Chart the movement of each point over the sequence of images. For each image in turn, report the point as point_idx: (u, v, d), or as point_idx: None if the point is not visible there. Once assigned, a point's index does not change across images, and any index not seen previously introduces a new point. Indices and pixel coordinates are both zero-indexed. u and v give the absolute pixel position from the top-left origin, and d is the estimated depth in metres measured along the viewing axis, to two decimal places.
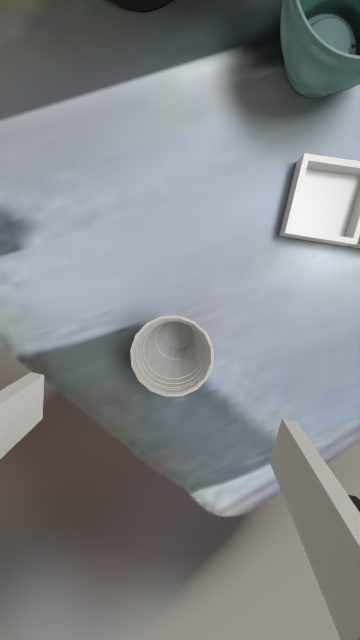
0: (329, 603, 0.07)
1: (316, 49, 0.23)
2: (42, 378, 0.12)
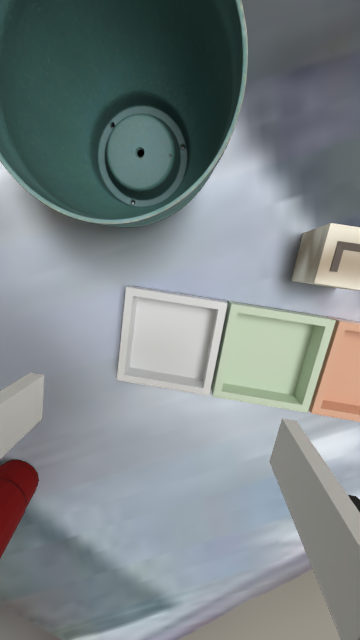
0: (329, 603, 0.07)
1: None
2: (42, 378, 0.12)
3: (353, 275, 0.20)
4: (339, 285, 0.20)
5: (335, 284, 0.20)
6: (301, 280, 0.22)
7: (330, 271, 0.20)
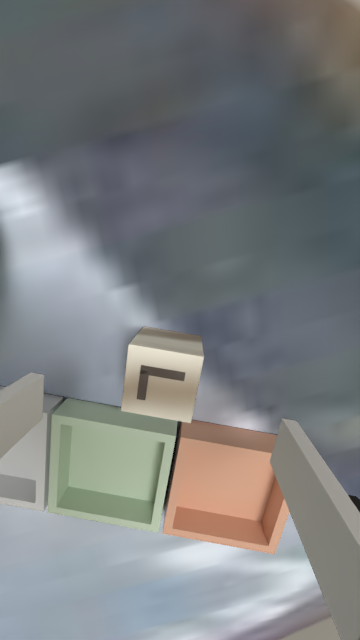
0: (329, 603, 0.07)
1: None
2: (42, 378, 0.12)
3: (166, 404, 0.16)
4: (151, 414, 0.16)
5: (146, 413, 0.16)
6: None
7: (138, 398, 0.16)
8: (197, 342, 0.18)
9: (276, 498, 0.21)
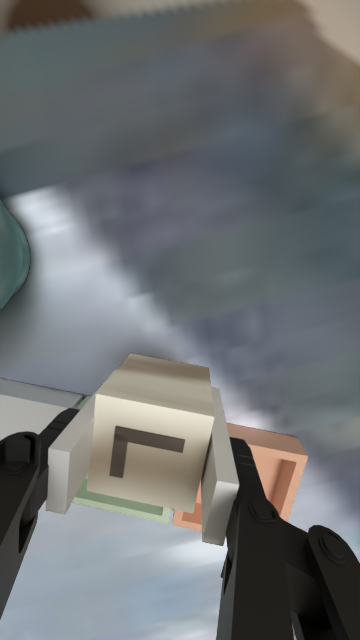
0: (204, 512, 0.09)
1: None
2: None
3: (155, 484, 0.10)
4: (132, 498, 0.10)
5: (125, 496, 0.10)
6: None
7: (112, 474, 0.10)
8: (204, 382, 0.12)
9: (280, 494, 0.22)
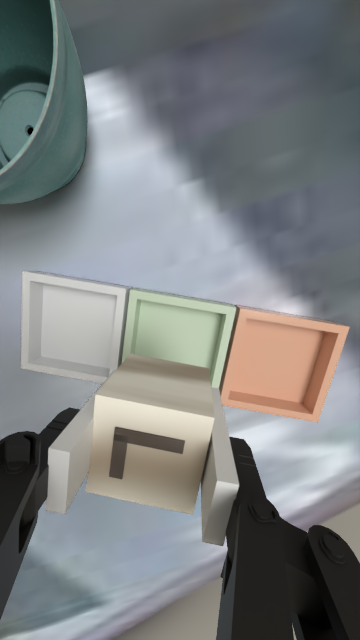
0: (204, 512, 0.09)
1: None
2: None
3: (155, 485, 0.10)
4: (132, 499, 0.10)
5: (124, 497, 0.10)
6: None
7: (112, 475, 0.10)
8: (204, 382, 0.12)
9: (319, 372, 0.24)
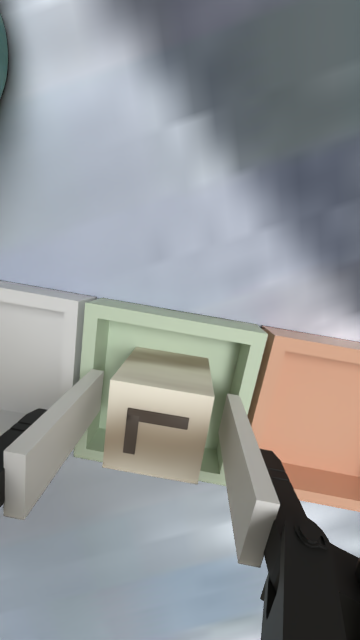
0: (236, 529, 0.09)
1: None
2: (102, 374, 0.14)
3: (164, 459, 0.11)
4: (143, 472, 0.12)
5: (136, 471, 0.12)
6: None
7: (125, 451, 0.12)
8: (204, 369, 0.13)
9: None
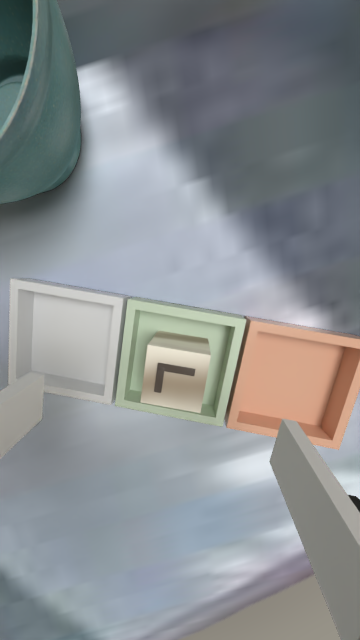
0: (329, 603, 0.07)
1: None
2: (42, 378, 0.12)
3: (179, 396, 0.18)
4: (166, 405, 0.19)
5: (162, 404, 0.19)
6: None
7: (155, 391, 0.18)
8: (205, 343, 0.20)
9: (339, 393, 0.21)
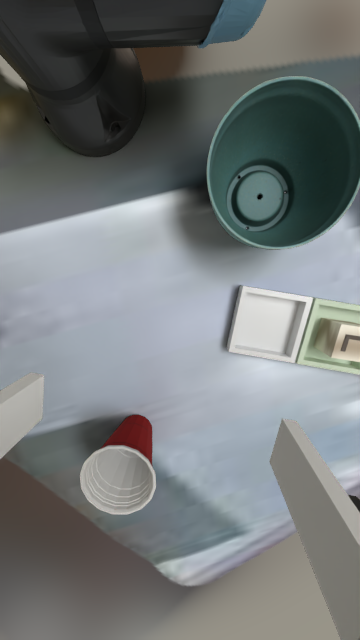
0: (329, 603, 0.07)
1: (234, 235, 0.26)
2: (42, 378, 0.12)
3: (355, 353, 0.32)
4: (346, 359, 0.33)
5: (344, 358, 0.33)
6: (321, 350, 0.35)
7: (341, 351, 0.32)
8: None
9: None
